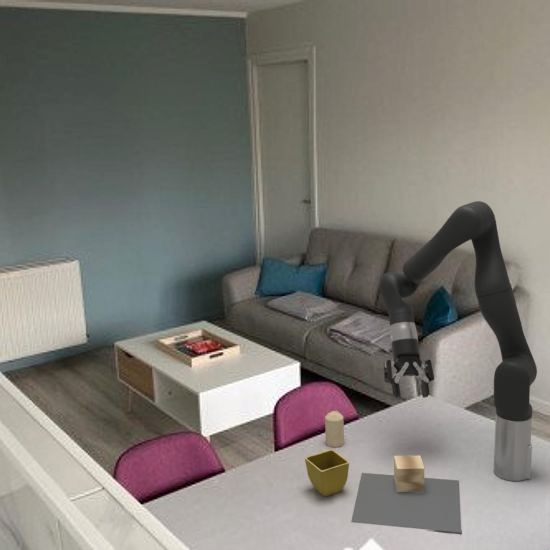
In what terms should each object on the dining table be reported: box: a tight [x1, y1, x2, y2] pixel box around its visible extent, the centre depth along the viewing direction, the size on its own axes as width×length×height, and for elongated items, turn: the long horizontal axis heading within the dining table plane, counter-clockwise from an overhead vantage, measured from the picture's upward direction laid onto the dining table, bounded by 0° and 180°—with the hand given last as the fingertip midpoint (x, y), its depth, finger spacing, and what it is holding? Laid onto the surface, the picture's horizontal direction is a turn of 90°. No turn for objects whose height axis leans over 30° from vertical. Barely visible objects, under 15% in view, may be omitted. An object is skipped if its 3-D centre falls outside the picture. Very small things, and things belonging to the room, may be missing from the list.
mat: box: [350, 472, 462, 535], centre depth 177 cm, size 26×24×1 cm
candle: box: [324, 410, 345, 448], centre depth 209 cm, size 6×6×10 cm
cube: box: [393, 455, 425, 493], centre depth 183 cm, size 7×7×7 cm
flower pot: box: [304, 449, 350, 497], centre depth 183 cm, size 9×9×9 cm
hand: (411, 397), depth 192 cm, fingers open, 8 cm apart
